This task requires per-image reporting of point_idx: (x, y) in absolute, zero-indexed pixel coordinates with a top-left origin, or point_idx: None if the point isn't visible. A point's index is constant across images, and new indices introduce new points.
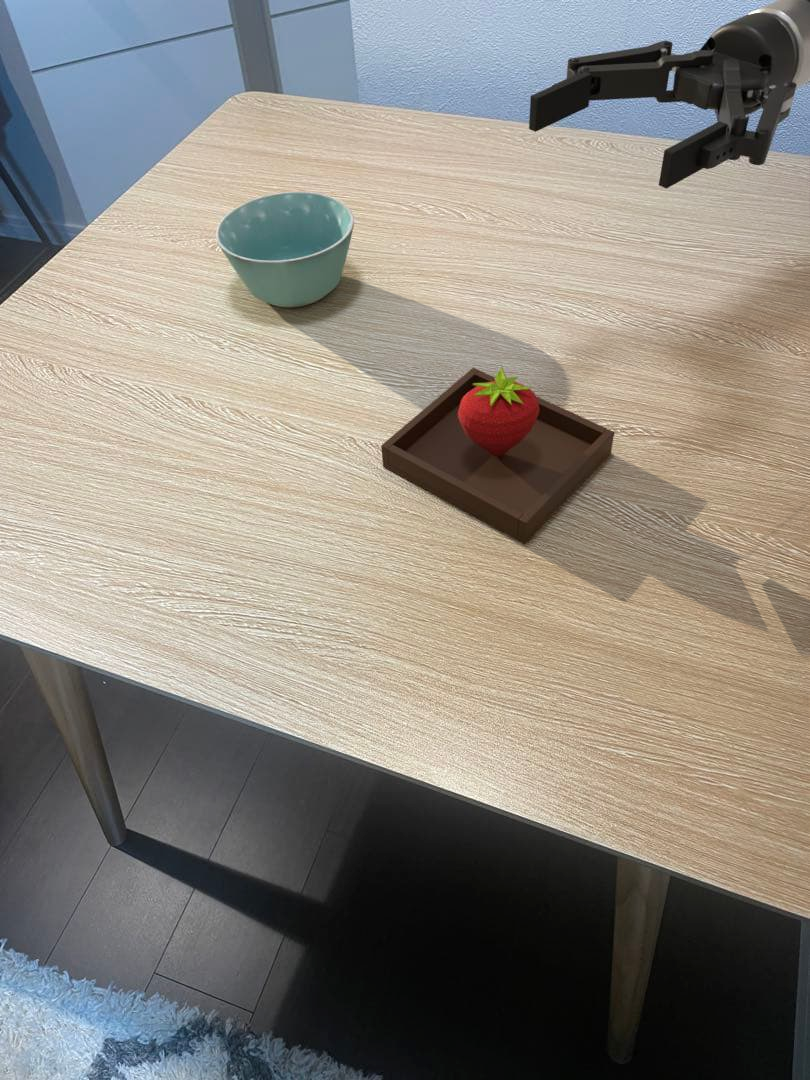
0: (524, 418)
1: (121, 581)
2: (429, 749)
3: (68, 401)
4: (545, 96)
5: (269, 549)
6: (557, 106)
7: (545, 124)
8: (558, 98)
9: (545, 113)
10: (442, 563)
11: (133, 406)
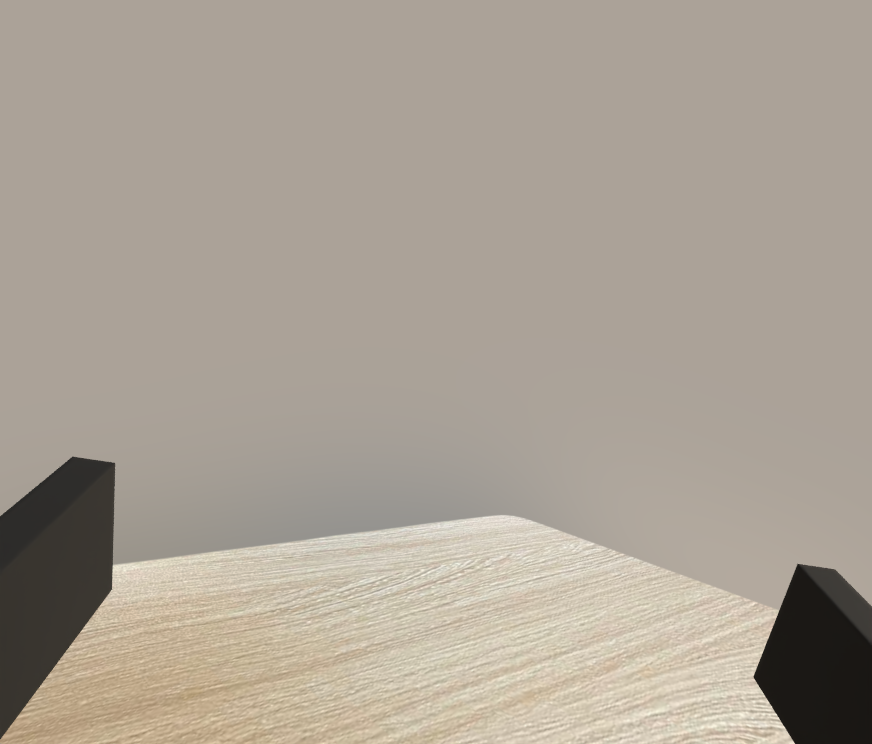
0: None
1: (505, 562)
2: (149, 575)
3: None
4: (823, 600)
5: (448, 638)
6: (851, 729)
7: (789, 717)
8: (864, 697)
9: (800, 669)
10: (270, 725)
11: None
